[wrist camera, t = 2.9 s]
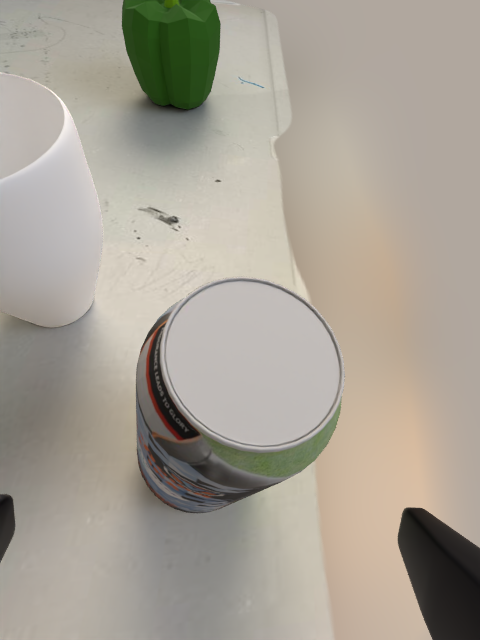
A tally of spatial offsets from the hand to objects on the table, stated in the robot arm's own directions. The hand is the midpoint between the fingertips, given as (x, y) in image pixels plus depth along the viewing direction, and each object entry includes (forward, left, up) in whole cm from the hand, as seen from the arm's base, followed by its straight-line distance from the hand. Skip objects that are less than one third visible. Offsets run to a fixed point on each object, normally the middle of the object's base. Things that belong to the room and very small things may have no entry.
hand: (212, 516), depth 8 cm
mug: (+16, +9, -11) cm, 21 cm away
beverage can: (+4, 0, -11) cm, 11 cm away
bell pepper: (+38, +1, -11) cm, 39 cm away
